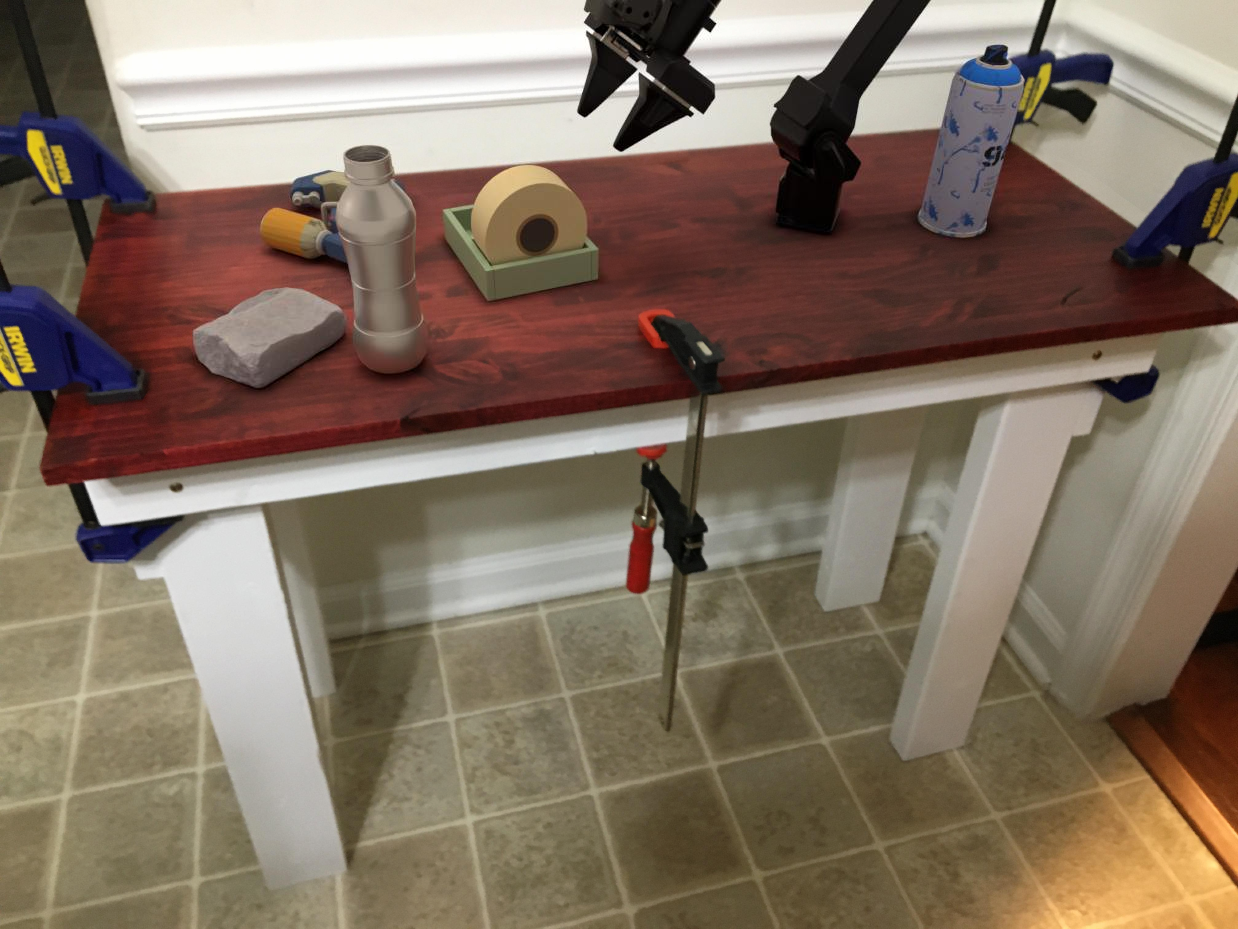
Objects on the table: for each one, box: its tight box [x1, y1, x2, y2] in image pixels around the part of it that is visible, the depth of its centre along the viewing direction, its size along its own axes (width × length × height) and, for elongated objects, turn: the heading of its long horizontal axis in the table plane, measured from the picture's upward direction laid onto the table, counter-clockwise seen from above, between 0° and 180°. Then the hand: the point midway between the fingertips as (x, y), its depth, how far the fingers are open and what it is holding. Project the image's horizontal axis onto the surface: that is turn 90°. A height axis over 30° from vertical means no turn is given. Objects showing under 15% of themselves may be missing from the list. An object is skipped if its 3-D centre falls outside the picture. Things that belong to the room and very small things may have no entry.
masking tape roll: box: [471, 164, 588, 266], centre depth 103 cm, size 11×5×11 cm, turn 115°
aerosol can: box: [917, 44, 1025, 239], centre depth 112 cm, size 8×8×20 cm
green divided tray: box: [442, 204, 600, 302], centre depth 108 cm, size 12×14×4 cm
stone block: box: [192, 286, 348, 389], centre depth 93 cm, size 12×5×10 cm
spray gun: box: [259, 169, 407, 265], centre depth 111 cm, size 21×4×15 cm
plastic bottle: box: [335, 144, 430, 375], centre depth 87 cm, size 6×7×20 cm
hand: (598, 131), depth 100 cm, fingers open, 9 cm apart
